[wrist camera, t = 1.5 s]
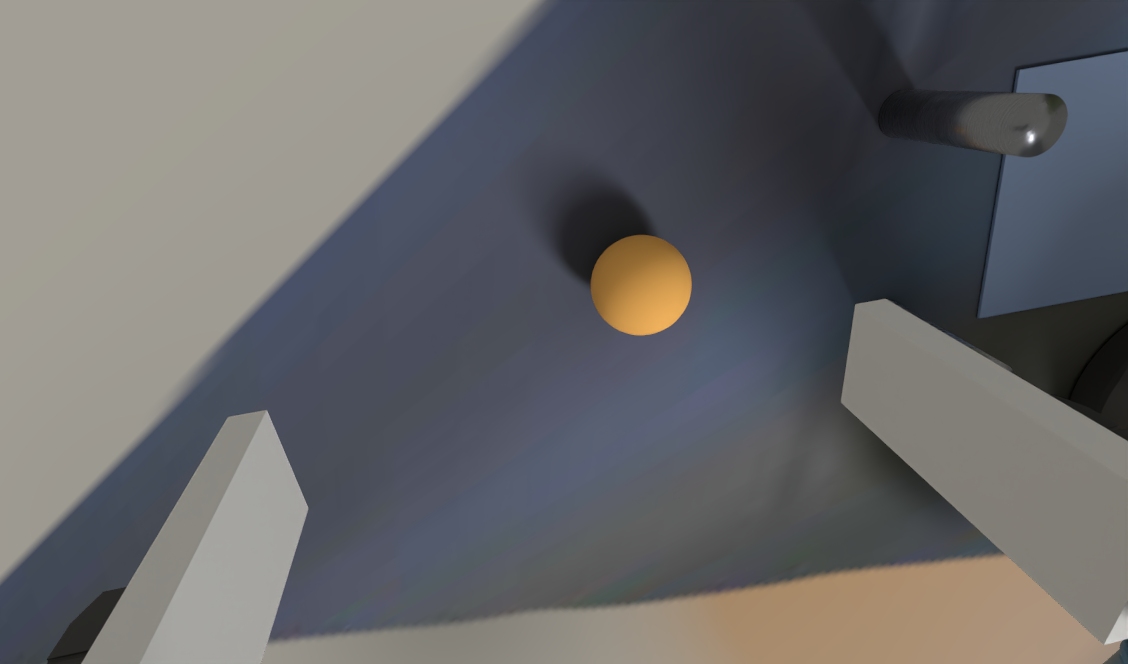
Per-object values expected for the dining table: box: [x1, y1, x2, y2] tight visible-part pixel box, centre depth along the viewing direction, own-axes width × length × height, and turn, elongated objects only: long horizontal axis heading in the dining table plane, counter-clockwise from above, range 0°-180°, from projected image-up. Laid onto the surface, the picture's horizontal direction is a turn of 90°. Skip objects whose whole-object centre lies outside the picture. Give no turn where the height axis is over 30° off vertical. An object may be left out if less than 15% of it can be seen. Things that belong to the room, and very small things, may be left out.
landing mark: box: [977, 51, 1128, 318], centre depth 35 cm, size 15×15×1 cm
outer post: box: [879, 90, 1068, 158], centre depth 28 cm, size 2×2×9 cm
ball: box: [591, 235, 692, 335], centre depth 32 cm, size 6×6×6 cm
